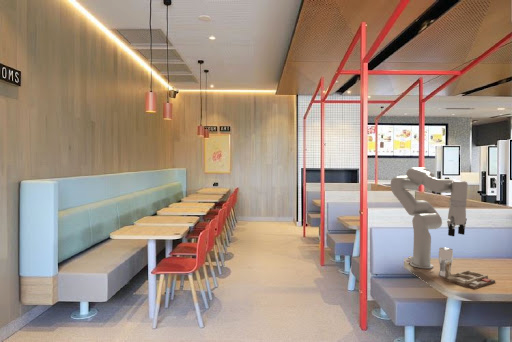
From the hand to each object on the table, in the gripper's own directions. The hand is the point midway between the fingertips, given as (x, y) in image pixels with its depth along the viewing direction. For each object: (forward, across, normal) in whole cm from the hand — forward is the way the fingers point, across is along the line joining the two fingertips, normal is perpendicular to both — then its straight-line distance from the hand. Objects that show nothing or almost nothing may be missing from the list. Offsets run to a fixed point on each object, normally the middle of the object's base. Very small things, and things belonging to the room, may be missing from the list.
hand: (456, 235), depth 197 cm
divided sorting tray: (+23, -1, +8) cm, 24 cm away
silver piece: (+24, +1, -4) cm, 24 cm away
